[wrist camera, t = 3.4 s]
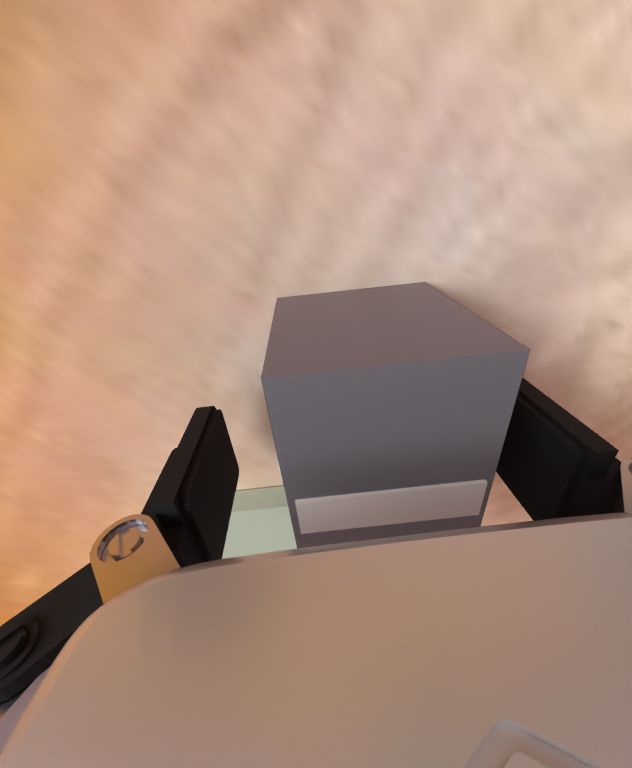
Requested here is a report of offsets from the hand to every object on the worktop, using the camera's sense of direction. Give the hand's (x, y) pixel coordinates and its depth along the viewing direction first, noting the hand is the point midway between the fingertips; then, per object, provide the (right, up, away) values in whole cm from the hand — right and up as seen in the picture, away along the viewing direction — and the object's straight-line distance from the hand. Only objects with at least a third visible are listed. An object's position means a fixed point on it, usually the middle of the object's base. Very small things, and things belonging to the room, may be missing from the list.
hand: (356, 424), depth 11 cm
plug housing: (0, +1, +2) cm, 2 cm away
